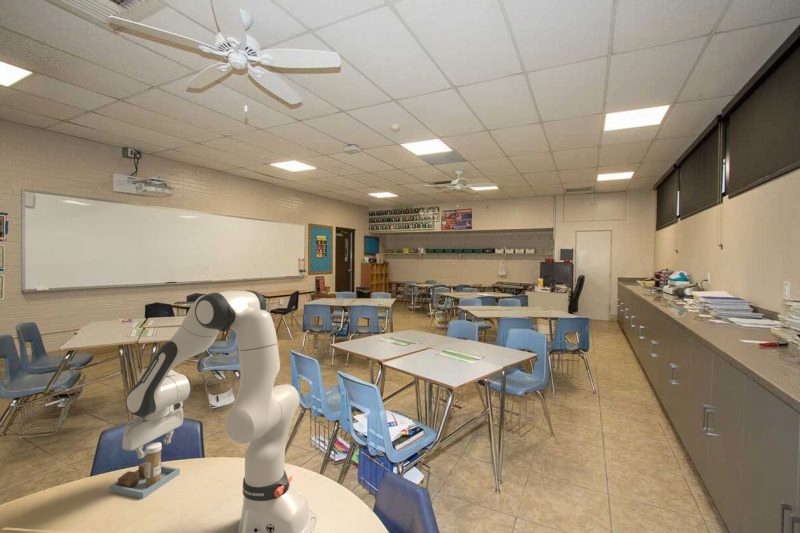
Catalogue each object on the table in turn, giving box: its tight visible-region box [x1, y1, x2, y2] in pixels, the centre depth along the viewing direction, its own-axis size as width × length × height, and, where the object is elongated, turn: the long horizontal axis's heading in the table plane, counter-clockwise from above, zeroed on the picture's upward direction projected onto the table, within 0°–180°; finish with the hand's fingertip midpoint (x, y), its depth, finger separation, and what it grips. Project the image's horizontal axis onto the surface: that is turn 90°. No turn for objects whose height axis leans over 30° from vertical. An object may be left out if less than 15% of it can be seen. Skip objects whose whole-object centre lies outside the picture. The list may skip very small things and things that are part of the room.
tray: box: [109, 464, 181, 499], centre depth 121 cm, size 14×14×2 cm
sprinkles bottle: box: [145, 441, 163, 487], centre depth 121 cm, size 5×5×14 cm
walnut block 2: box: [138, 461, 146, 480], centre depth 125 cm, size 4×4×4 cm
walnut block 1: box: [117, 470, 139, 488], centre depth 119 cm, size 4×4×4 cm
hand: (154, 450), depth 120 cm, fingers open, 8 cm apart
